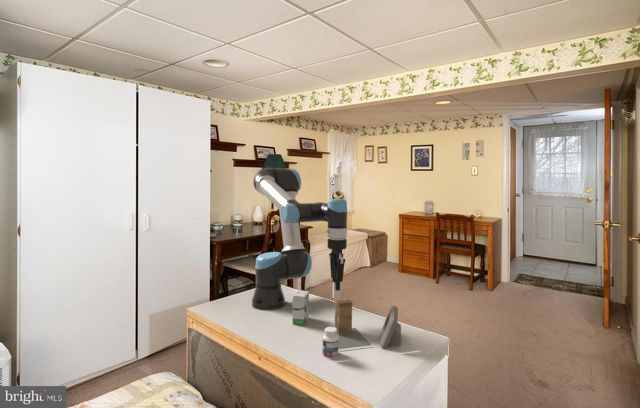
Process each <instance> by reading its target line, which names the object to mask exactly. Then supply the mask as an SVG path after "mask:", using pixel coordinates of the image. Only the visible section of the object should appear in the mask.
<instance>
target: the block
mask: <svg viewBox="0 0 640 408" xmlns="http://www.w3.org/2000/svg"><path fill="white" fill-rule="evenodd" d="M352 324H353V301H351V300H350V299H349V298H348V297H343V298H334V328H336V329H337V334H338V335H348V334H352V328H353V325H352Z"/></svg>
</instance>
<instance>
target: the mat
mask: <svg viewBox="0 0 640 408" xmlns="http://www.w3.org/2000/svg"><path fill="white" fill-rule="evenodd" d="M337 335H338V334H337ZM338 337H339V344H338V351H339V352H348V351H350V352H351V351H356V350H357V351H358V350H365V349H373V348H374V346H373V345H372V344H371V343H370V341H368V340H367V338H366V337H365V336H364V335H363V334H362V333H361V332H360V331H359V330H358V328H356V327H352V334H348V335H338Z"/></svg>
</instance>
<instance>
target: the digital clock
mask: <svg viewBox="0 0 640 408" xmlns="http://www.w3.org/2000/svg"><path fill="white" fill-rule="evenodd" d="M388 311H389V312H388V314H387V316H386V319H385V321H384V324H383V326H382V329H381V334H380V341H379V346H380V348H381V349H387V348H388V347H389V346H395V347H401V346H402V344H401V343H402V326H401V324H400V323H398V321H399V320H398V318H399V317H398V315H399V308H398V307H397V306H396V305H391V306H390V309H389V310H388Z"/></svg>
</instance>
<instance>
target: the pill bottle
mask: <svg viewBox="0 0 640 408" xmlns="http://www.w3.org/2000/svg"><path fill="white" fill-rule="evenodd" d="M338 344H339V337H338V335H337V329H336V328H335V326H327V327H326V328H324V334H323V336H322V356H323V357H324V358H326V359H336V358H338V357H339V356H340V355H339V352H340V351H339V349H338Z"/></svg>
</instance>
